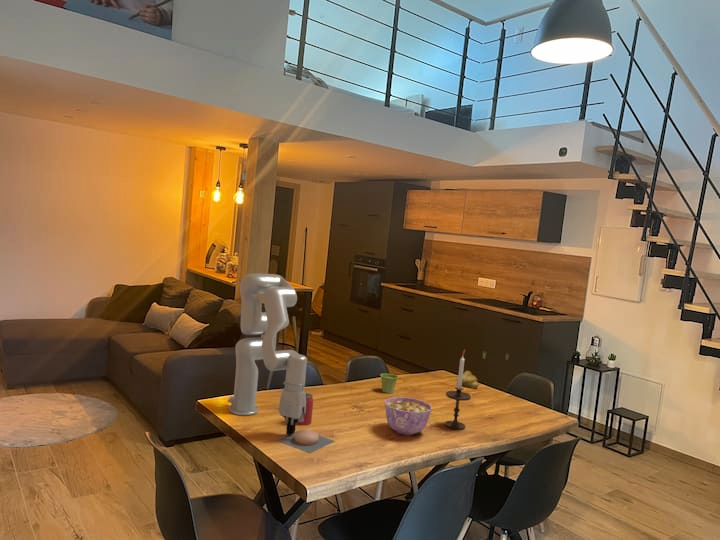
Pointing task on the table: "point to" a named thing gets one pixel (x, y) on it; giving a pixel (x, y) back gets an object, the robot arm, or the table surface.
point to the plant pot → (388, 382)
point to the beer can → (308, 410)
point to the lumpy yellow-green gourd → (469, 380)
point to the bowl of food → (407, 414)
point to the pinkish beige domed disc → (306, 437)
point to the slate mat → (290, 441)
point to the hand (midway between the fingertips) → (290, 433)
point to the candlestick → (457, 399)
